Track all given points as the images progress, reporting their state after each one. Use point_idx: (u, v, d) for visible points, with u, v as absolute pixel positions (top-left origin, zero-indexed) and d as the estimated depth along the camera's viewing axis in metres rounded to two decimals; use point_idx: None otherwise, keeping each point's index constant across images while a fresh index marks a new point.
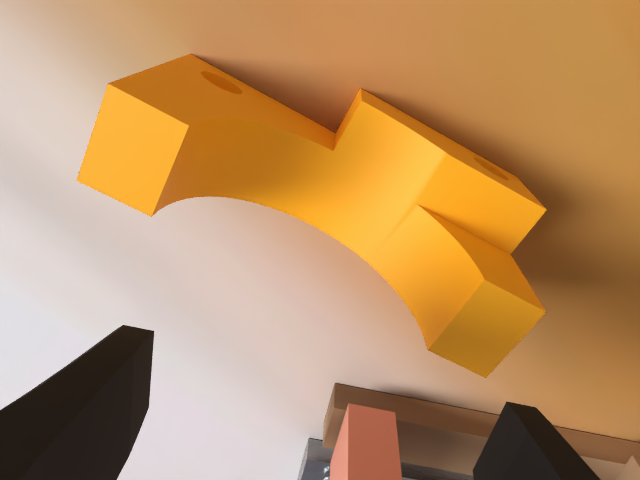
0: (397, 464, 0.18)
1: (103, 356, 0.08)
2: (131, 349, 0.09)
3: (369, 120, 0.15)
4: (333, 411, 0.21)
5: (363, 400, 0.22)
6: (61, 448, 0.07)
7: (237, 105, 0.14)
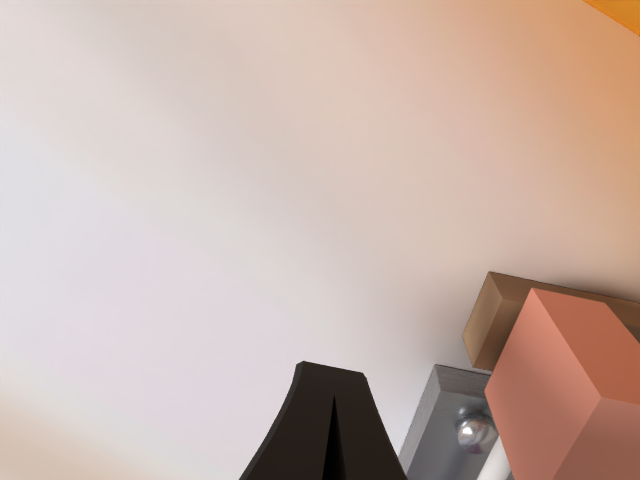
0: None
1: (310, 397, 0.08)
2: (329, 388, 0.09)
3: None
4: (500, 305, 0.14)
5: None
6: None
7: None
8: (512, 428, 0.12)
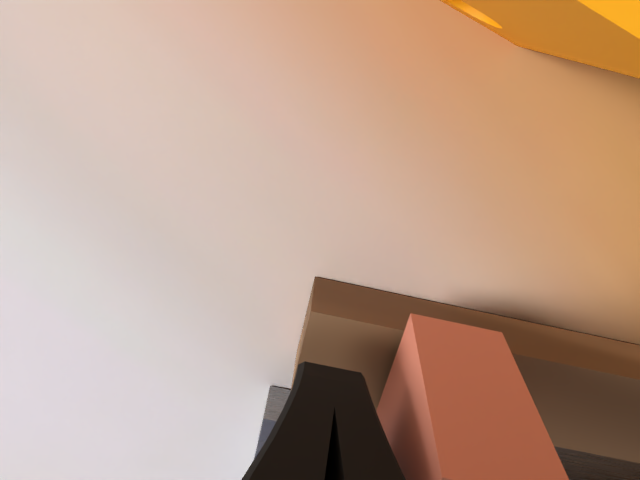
0: (538, 426, 0.08)
1: (312, 397, 0.08)
2: (331, 389, 0.09)
3: None
4: (310, 319, 0.11)
5: (368, 304, 0.12)
6: None
7: None
8: None
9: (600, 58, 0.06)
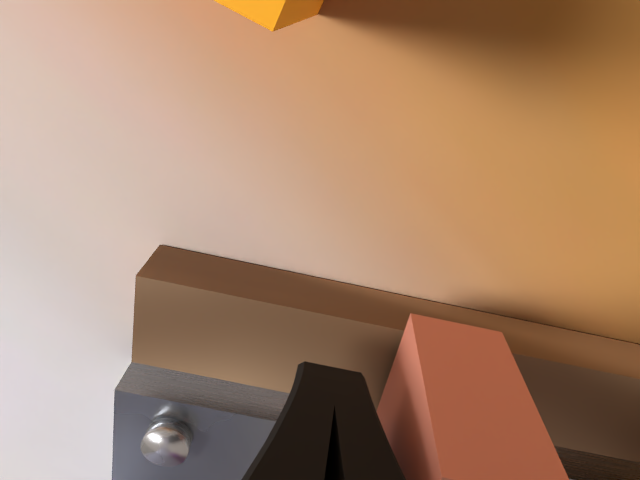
0: (538, 425, 0.08)
1: (312, 397, 0.08)
2: (330, 389, 0.09)
3: None
4: (137, 284, 0.11)
5: (205, 270, 0.11)
6: None
7: None
8: None
9: None
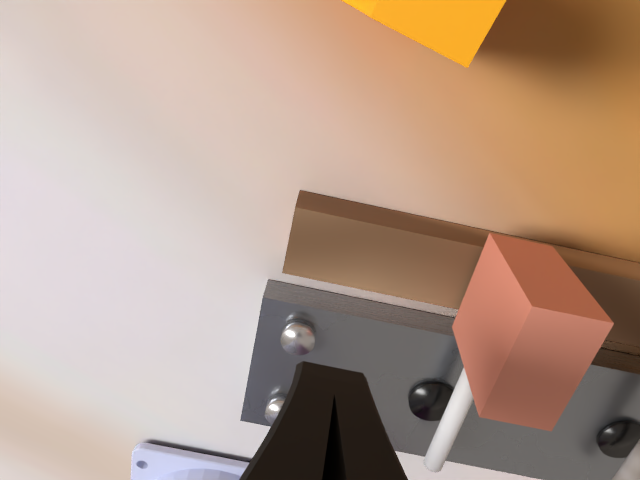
0: (584, 290, 0.13)
1: (310, 397, 0.08)
2: (329, 388, 0.09)
3: None
4: (295, 213, 0.15)
5: (337, 206, 0.16)
6: None
7: None
8: (471, 350, 0.15)
9: None
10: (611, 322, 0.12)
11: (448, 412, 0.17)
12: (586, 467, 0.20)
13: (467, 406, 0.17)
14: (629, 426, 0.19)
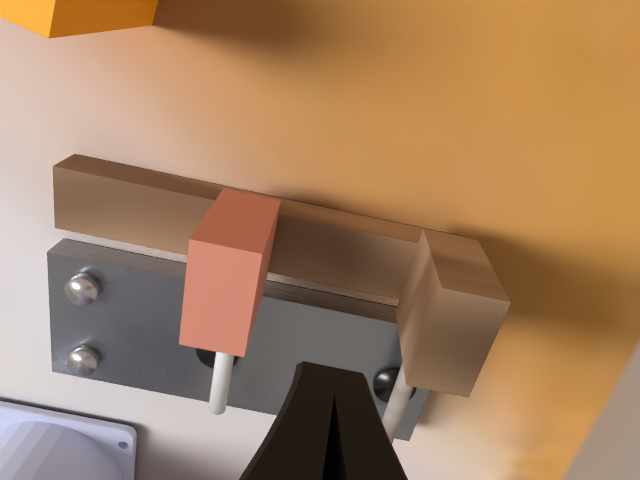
0: (265, 231, 0.15)
1: (310, 397, 0.08)
2: (329, 388, 0.09)
3: None
4: (54, 172, 0.17)
5: (100, 167, 0.18)
6: None
7: None
8: None
9: None
10: (262, 253, 0.14)
11: (216, 356, 0.19)
12: None
13: None
14: (396, 373, 0.20)
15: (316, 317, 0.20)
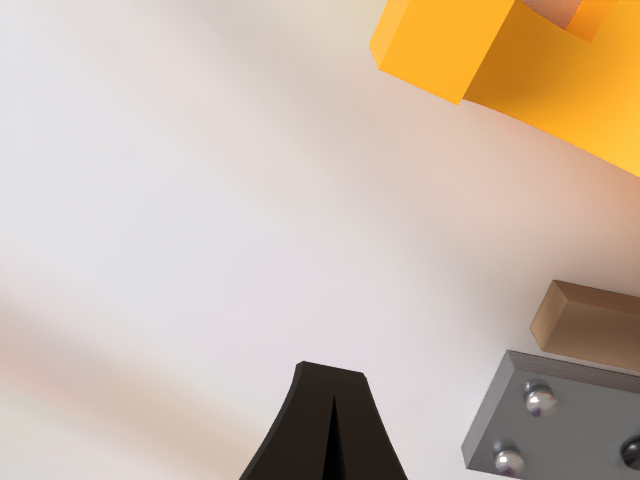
0: None
1: (310, 397, 0.08)
2: (329, 388, 0.09)
3: (636, 2, 0.13)
4: (565, 305, 0.18)
5: (592, 296, 0.19)
6: None
7: None
8: None
9: None
10: None
11: None
12: None
13: None
14: None
15: None
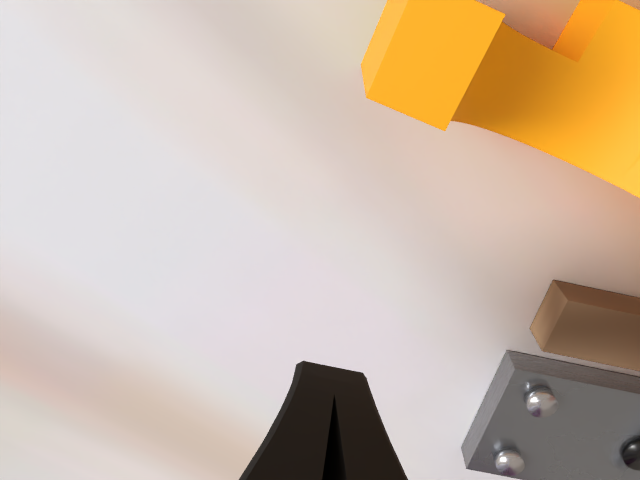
0: None
1: (310, 397, 0.08)
2: (329, 388, 0.09)
3: (622, 21, 0.14)
4: (565, 305, 0.18)
5: (592, 296, 0.19)
6: None
7: None
8: None
9: None
10: None
11: None
12: None
13: None
14: None
15: None
